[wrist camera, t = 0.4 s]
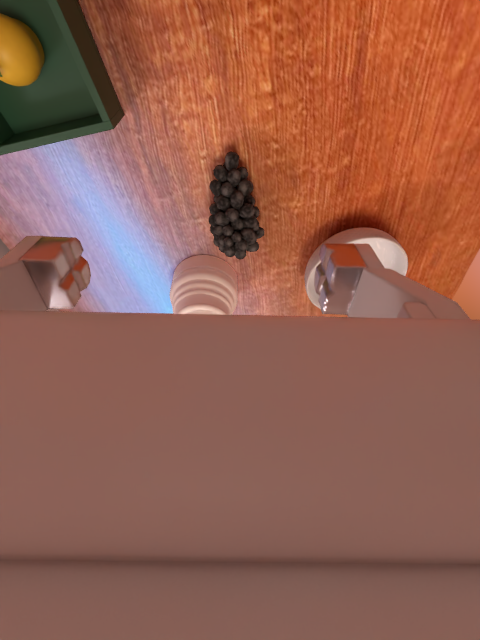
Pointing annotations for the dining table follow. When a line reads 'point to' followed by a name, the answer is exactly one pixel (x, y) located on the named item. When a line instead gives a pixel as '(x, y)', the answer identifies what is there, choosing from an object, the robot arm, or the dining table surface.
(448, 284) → the dining table surface
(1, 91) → the crate
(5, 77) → the orange
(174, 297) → the honey pot
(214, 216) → the fruit
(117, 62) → the dining table surface
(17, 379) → the robot arm
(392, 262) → the cereal bowl
